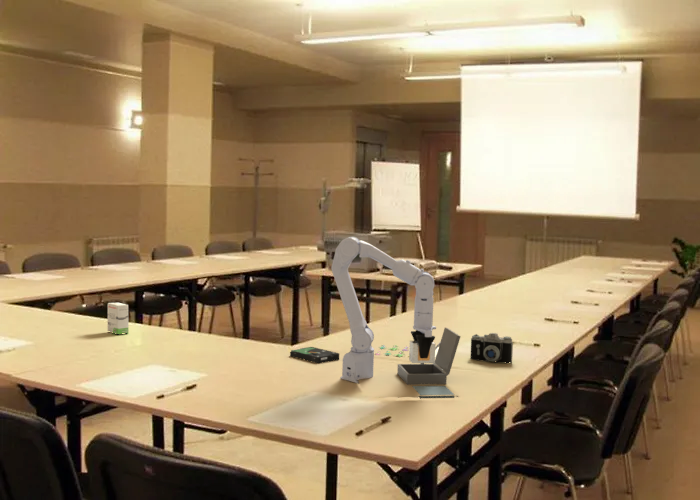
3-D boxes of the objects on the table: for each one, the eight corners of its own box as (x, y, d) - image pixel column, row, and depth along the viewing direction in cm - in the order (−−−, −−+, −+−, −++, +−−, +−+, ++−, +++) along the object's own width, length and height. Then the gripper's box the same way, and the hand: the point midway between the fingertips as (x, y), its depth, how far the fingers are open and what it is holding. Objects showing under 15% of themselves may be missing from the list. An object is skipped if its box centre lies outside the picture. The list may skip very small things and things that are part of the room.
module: (412, 363, 231) (413, 343, 231) (409, 359, 236) (409, 340, 235) (434, 363, 232) (435, 343, 232) (431, 359, 237) (431, 340, 236)
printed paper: (432, 364, 262) (433, 359, 261) (347, 359, 267) (347, 355, 267) (440, 347, 291) (440, 343, 291) (362, 344, 297) (362, 340, 297)
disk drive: (339, 361, 264) (311, 353, 274) (340, 353, 263) (311, 345, 274) (317, 365, 256) (289, 357, 267) (318, 357, 256) (289, 349, 266)
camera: (466, 361, 267) (467, 332, 266) (471, 357, 273) (472, 329, 272) (509, 365, 261) (510, 336, 260) (513, 362, 267) (514, 333, 267)
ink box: (128, 334, 299) (129, 304, 298) (117, 335, 295) (117, 305, 295) (118, 331, 305) (118, 301, 304) (106, 332, 302) (106, 302, 301)
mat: (420, 398, 215) (420, 394, 215) (412, 389, 225) (412, 386, 225) (454, 398, 216) (454, 394, 216) (444, 389, 226) (445, 385, 226)
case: (407, 387, 227) (408, 335, 226) (396, 375, 241) (398, 326, 240) (458, 387, 229) (460, 335, 228) (445, 375, 244) (447, 326, 243)
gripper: (442, 316, 226) (440, 361, 227) (430, 308, 241) (428, 351, 242) (419, 316, 225) (417, 361, 226) (408, 308, 240) (406, 351, 241)
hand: (421, 356), depth 234 cm, fingers closed on module, 5 cm apart
